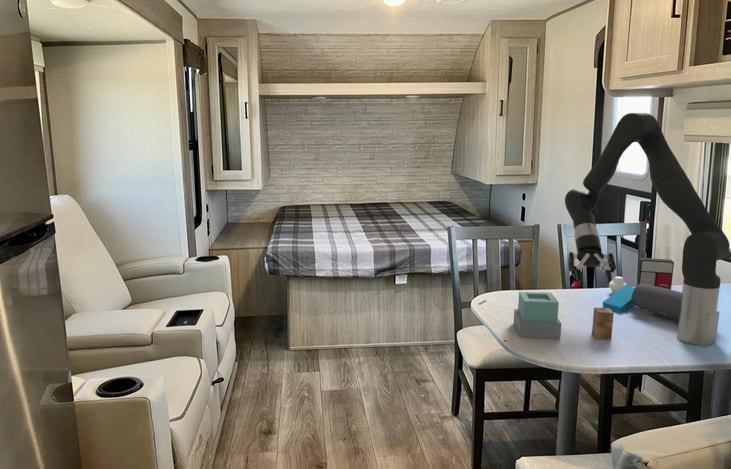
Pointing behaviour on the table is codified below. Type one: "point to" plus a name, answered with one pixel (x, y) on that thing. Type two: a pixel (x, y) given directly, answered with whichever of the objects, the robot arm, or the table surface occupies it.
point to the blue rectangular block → (620, 299)
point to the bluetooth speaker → (658, 301)
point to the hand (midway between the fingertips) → (594, 282)
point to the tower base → (536, 328)
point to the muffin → (617, 284)
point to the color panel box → (655, 272)
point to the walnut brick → (602, 323)
